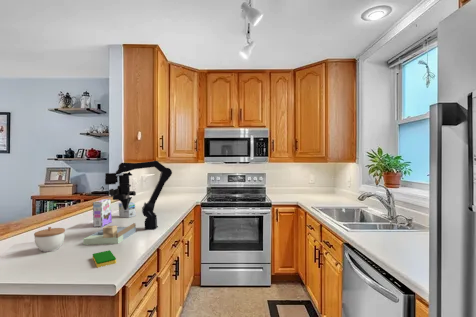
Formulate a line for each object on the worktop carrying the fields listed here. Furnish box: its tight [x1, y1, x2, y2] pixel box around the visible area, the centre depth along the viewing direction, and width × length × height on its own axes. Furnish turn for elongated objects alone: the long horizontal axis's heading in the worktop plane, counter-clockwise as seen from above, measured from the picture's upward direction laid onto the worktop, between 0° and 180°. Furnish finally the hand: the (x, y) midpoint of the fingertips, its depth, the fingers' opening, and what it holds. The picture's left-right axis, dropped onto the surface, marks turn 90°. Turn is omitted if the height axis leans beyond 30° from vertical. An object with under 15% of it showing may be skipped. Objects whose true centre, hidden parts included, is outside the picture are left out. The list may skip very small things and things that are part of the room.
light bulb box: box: [118, 201, 137, 219], centre depth 216 cm, size 11×7×11 cm, turn 65°
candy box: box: [92, 198, 113, 228], centre depth 191 cm, size 14×6×16 cm, turn 179°
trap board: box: [83, 222, 137, 246], centre depth 157 cm, size 18×23×5 cm
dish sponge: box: [92, 249, 117, 268], centre depth 121 cm, size 7×14×2 cm, turn 34°
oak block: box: [102, 225, 118, 238], centre depth 148 cm, size 5×5×5 cm
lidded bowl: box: [33, 226, 66, 253], centre depth 140 cm, size 13×13×11 cm
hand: (125, 209), depth 169 cm, fingers closed
